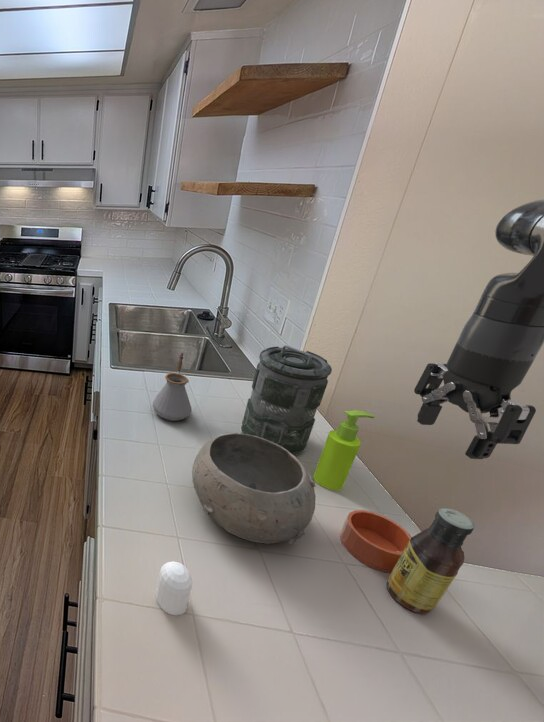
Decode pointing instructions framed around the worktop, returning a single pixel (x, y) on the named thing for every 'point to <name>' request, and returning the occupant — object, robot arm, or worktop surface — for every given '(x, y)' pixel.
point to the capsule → (173, 588)
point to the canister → (286, 396)
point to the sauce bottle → (430, 562)
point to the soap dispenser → (339, 452)
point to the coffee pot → (173, 397)
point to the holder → (374, 539)
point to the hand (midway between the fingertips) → (447, 439)
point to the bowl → (254, 488)
